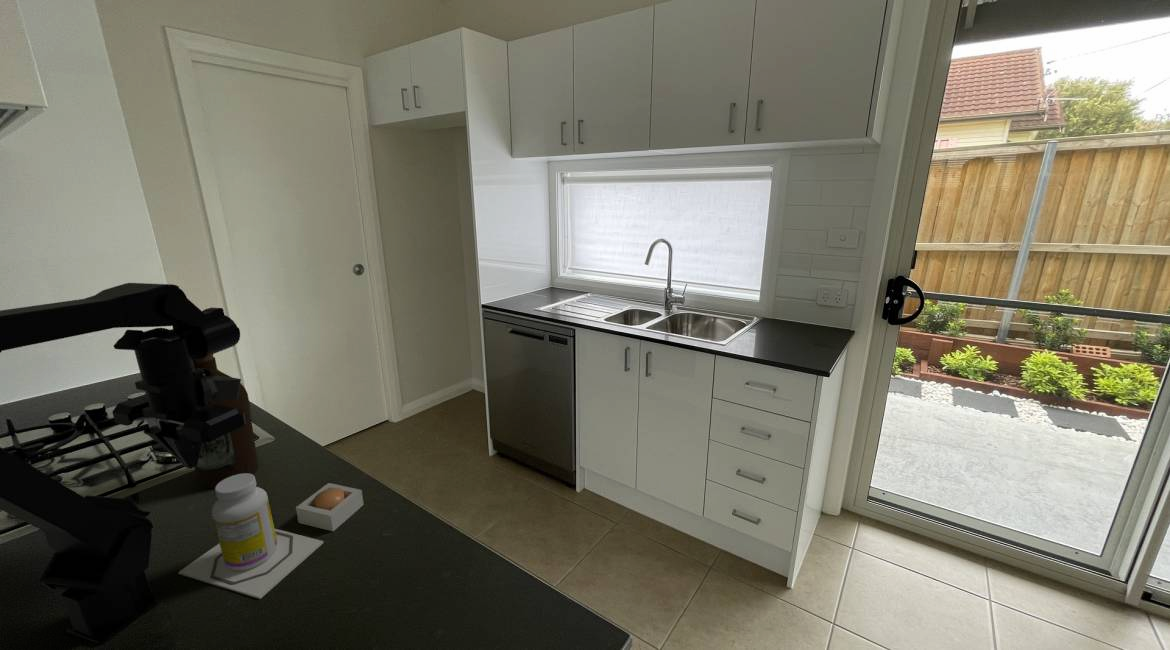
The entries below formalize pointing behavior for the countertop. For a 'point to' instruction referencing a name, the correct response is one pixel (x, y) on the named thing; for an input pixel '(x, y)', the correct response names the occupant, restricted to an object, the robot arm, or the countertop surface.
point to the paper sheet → (257, 578)
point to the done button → (329, 498)
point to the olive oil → (226, 440)
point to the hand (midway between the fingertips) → (191, 466)
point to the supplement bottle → (243, 522)
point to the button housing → (334, 517)
